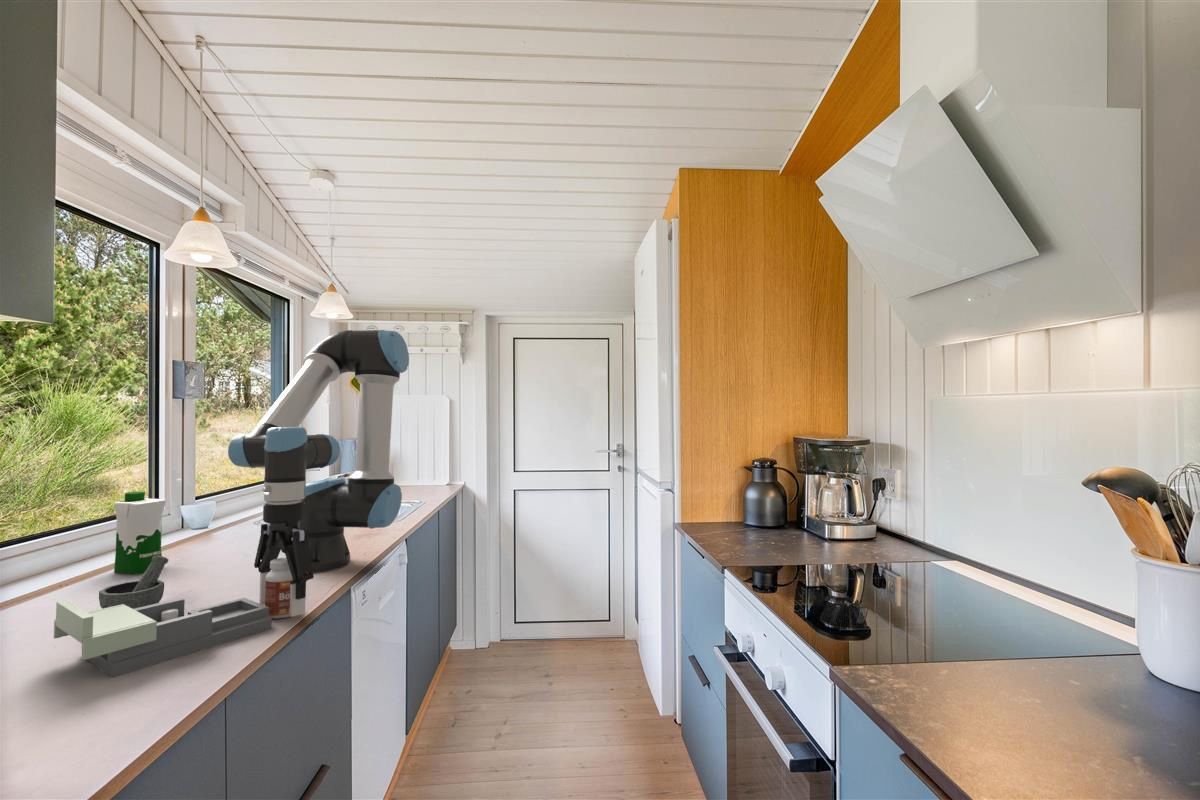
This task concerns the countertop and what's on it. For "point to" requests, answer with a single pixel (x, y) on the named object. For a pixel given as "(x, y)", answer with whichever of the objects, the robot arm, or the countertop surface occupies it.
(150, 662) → the housing base
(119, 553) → the milk carton
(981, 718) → the countertop surface
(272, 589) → the pill bottle
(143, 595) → the mortar and pestle
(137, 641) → the cover
